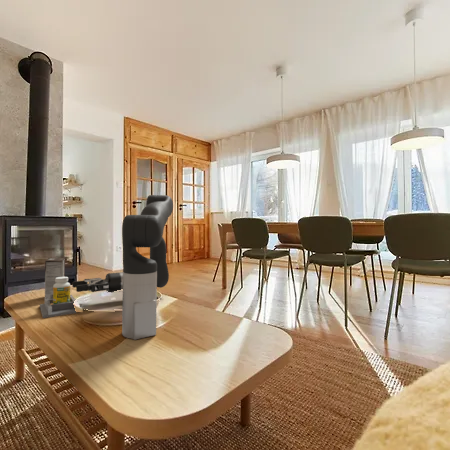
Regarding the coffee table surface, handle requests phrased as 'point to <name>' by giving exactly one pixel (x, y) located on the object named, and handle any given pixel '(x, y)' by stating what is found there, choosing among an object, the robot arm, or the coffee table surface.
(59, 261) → the coffee box
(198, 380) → the coffee table surface
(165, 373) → the coffee table surface
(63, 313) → the rail mount
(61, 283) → the supplement bottle
